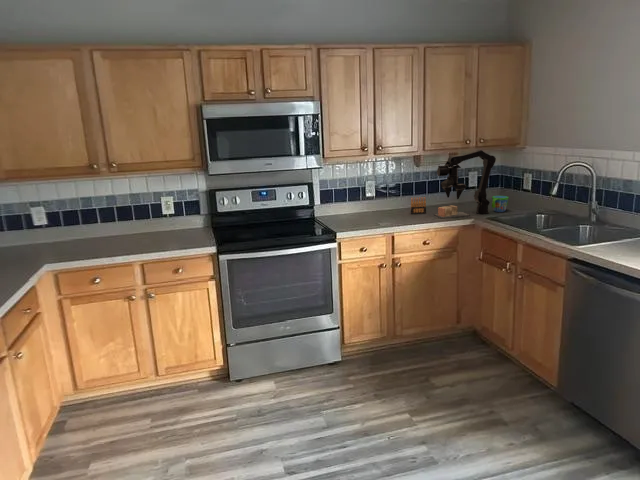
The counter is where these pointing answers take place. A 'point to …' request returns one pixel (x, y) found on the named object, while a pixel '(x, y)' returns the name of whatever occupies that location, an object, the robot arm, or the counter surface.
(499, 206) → the snack cup
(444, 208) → the birch block
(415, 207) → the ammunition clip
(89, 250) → the counter surface
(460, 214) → the rubber mat
